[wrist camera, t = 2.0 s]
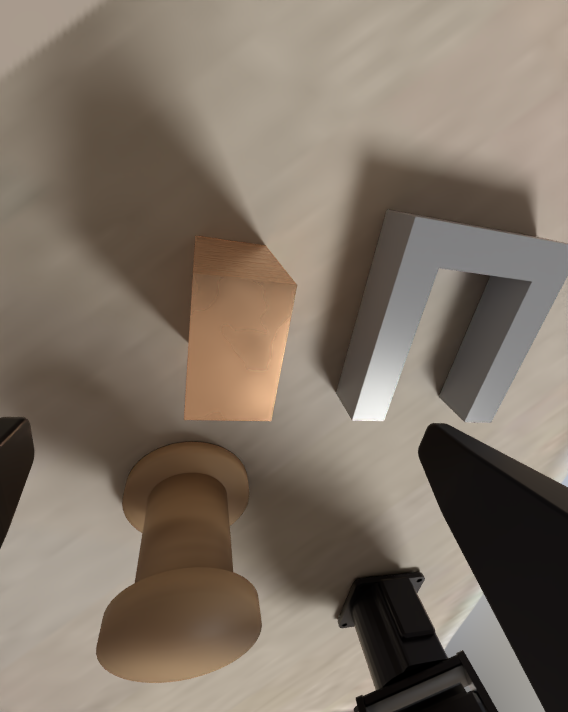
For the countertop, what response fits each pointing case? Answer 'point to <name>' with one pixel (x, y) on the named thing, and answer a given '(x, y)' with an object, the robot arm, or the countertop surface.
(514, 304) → the grey u-shaped frame
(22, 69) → the countertop surface
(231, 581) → the knob
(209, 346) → the orange tan block
